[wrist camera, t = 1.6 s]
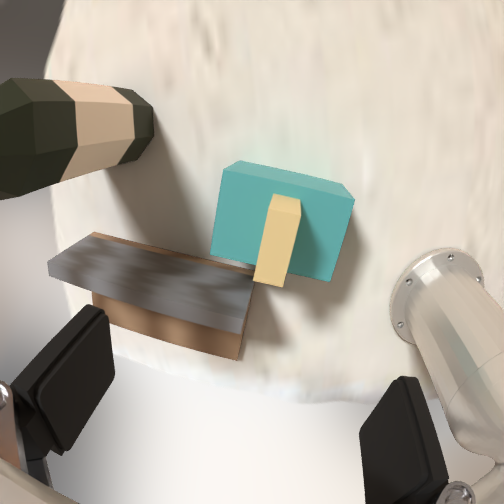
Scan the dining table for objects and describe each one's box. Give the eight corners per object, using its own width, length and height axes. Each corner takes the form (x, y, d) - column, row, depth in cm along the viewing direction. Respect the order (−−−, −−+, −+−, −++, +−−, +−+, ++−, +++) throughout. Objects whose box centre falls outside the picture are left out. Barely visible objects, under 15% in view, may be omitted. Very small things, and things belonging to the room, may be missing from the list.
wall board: (257, 271, 33) (243, 319, 25) (238, 354, 38) (224, 407, 30) (94, 231, 34) (47, 261, 26) (98, 312, 39) (63, 351, 31)
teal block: (341, 183, 28) (368, 215, 18) (323, 250, 31) (335, 312, 21) (239, 160, 29) (206, 178, 18) (227, 228, 32) (193, 279, 21)
